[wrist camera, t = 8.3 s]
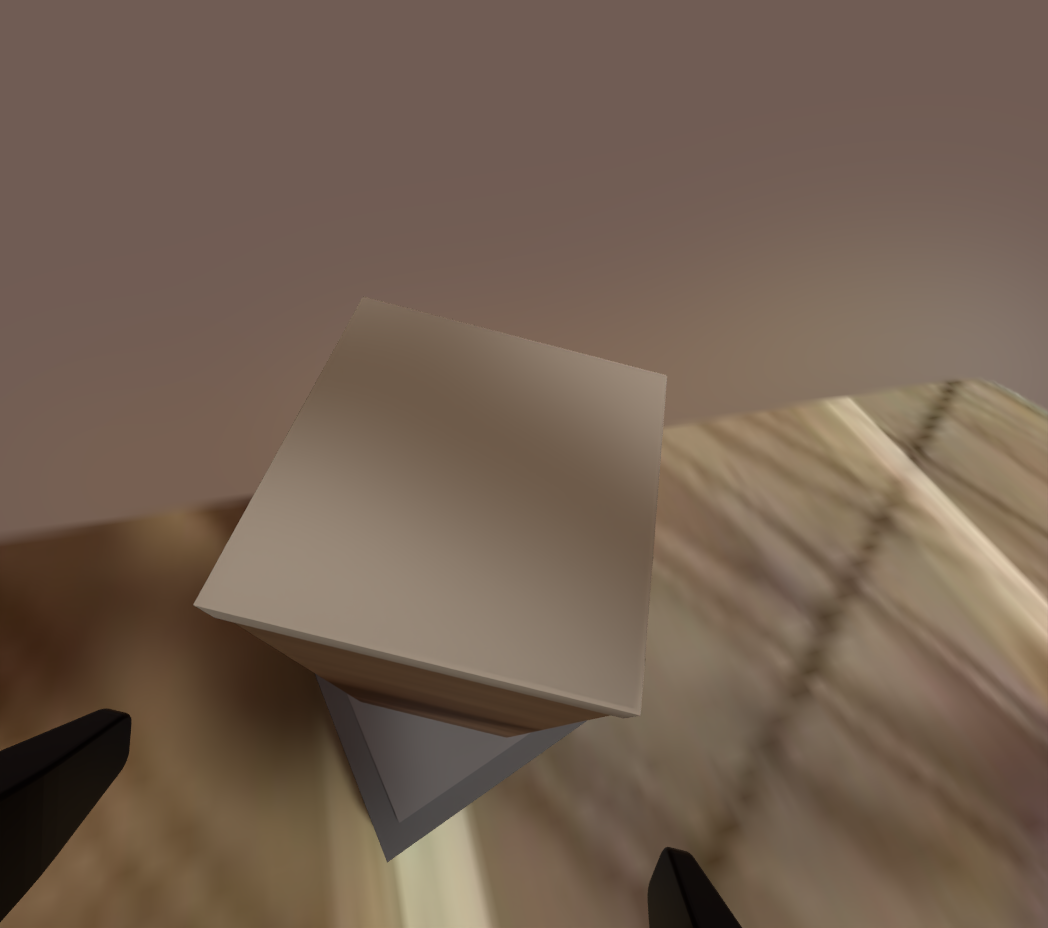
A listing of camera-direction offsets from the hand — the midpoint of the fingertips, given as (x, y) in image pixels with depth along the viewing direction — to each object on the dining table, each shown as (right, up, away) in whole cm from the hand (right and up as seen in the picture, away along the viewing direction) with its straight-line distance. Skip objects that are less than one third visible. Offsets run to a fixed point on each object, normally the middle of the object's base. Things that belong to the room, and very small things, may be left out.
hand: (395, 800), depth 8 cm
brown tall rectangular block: (0, -1, +10) cm, 10 cm away
